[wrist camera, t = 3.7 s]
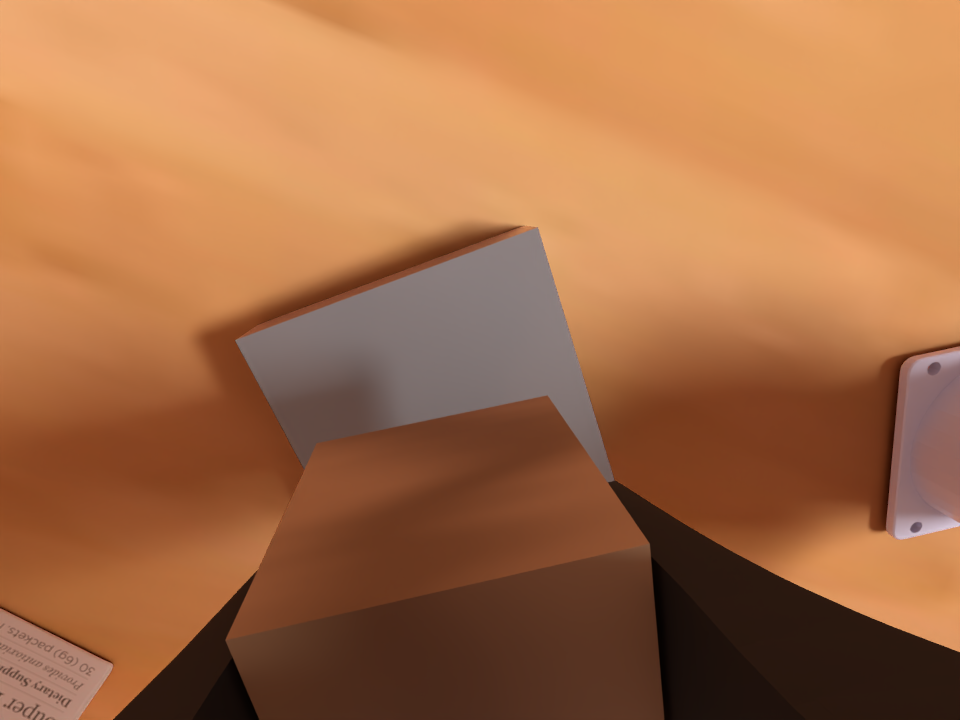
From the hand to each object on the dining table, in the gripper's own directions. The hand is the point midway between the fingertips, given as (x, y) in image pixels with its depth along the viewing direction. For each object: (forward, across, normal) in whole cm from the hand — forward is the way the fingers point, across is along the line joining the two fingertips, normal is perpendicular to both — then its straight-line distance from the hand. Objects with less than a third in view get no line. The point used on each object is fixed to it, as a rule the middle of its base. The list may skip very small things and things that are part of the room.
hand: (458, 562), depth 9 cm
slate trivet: (+9, 0, 0) cm, 9 cm away
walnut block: (+2, 0, +1) cm, 2 cm away
